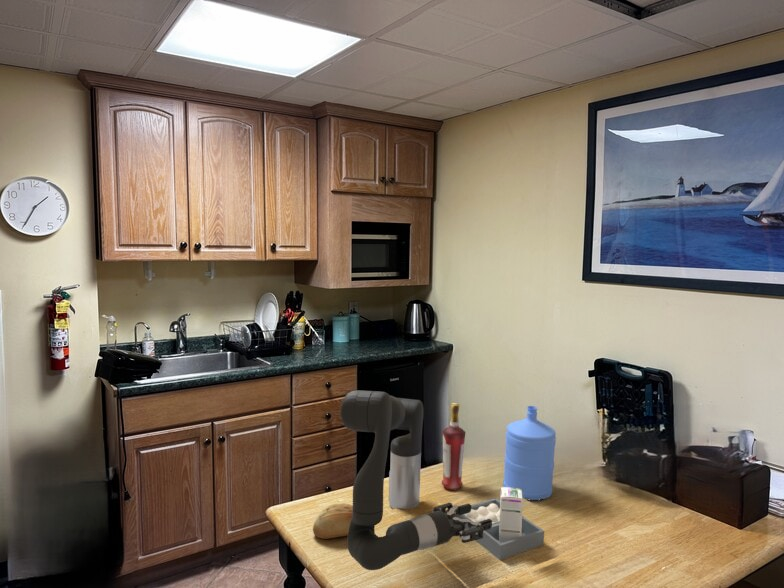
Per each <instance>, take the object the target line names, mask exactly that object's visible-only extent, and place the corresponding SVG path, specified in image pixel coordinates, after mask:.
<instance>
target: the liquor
mask: <svg viewBox="0 0 784 588" xmlns="http://www.w3.org/2000/svg"><path fill="white" fill-rule="evenodd" d="M459 411H460V404H459V403H454V402H453V403H450V412H451V414H450V420H449V421H450V422H449V426H447V427H446V428H444V429H443V430H442V465H443V466H442V469H443V471H442V480H441V485H442V486H443V487H444V488H446V489H447V490H449V489H450V491H456V490H455V489H457V490H458V489H460V488H461V487H462V486H463V485H464V484H463V482H462V481H463V480H462V478H463V477H462V474H463V463H464V462H463V461H464V452H465V441H466V431H465V430H464V429H463V428H462V427H460V425H459V423H460V422H459V420H460V419H459Z"/></svg>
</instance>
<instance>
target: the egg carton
mask: <svg viewBox="0 0 784 588" xmlns="http://www.w3.org/2000/svg"><path fill="white" fill-rule="evenodd" d="M464 515H465V516H467V517H468V518H469V519H470V520H472V521H473V522H480V521H483V520H487V519H491V520H492V525H494V524H497V523H500V508H498V506H497V505H496V504H494V503H492V504H490V505H489V506H488V507H484V506H481V507H479V508H478V509H477V510H473V509H471V512H470V513H466V514H464Z"/></svg>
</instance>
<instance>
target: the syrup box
mask: <svg viewBox="0 0 784 588" xmlns="http://www.w3.org/2000/svg"><path fill="white" fill-rule="evenodd" d="M523 499H524V498H522V489H518V488H511V487H504V486H503V487H502V486H501V488H500V499H499V501H500V523H499V542H500V543H503V542H506V541H509V540H512V539H515V538H518V537H521V532H522V516H523Z"/></svg>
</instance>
